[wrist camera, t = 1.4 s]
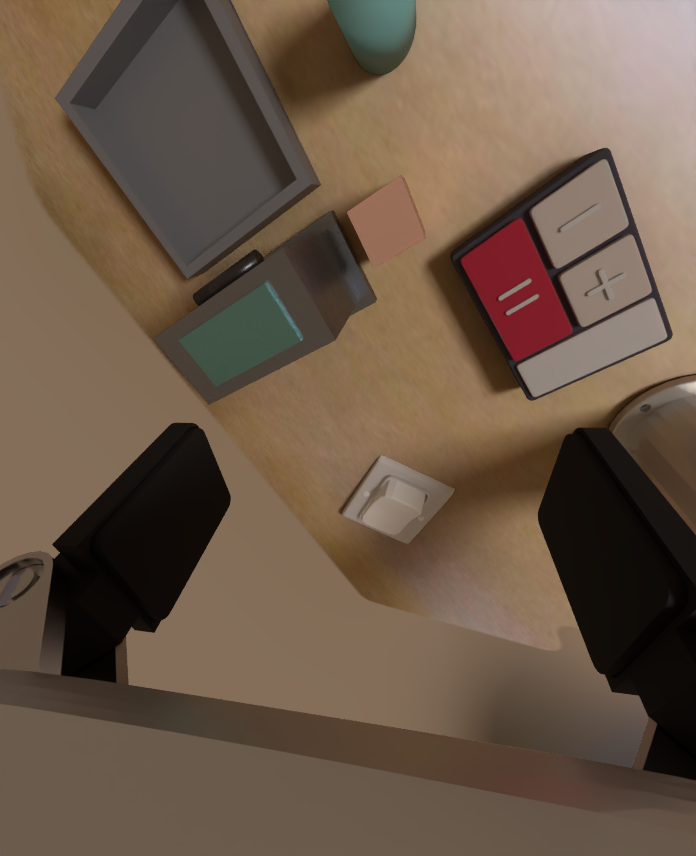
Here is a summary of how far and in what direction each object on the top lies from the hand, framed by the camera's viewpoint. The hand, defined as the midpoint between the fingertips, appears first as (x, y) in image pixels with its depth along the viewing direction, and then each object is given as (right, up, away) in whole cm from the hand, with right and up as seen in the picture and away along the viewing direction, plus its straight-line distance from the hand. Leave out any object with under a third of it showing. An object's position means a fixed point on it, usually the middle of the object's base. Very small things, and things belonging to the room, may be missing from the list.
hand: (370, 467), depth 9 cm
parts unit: (-6, +14, +24) cm, 28 cm away
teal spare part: (+2, +27, +13) cm, 30 cm away
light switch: (+6, -9, +38) cm, 39 cm away
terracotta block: (+3, +18, +19) cm, 26 cm away
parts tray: (-12, +24, +18) cm, 32 cm away
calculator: (+17, +13, +20) cm, 29 cm away
